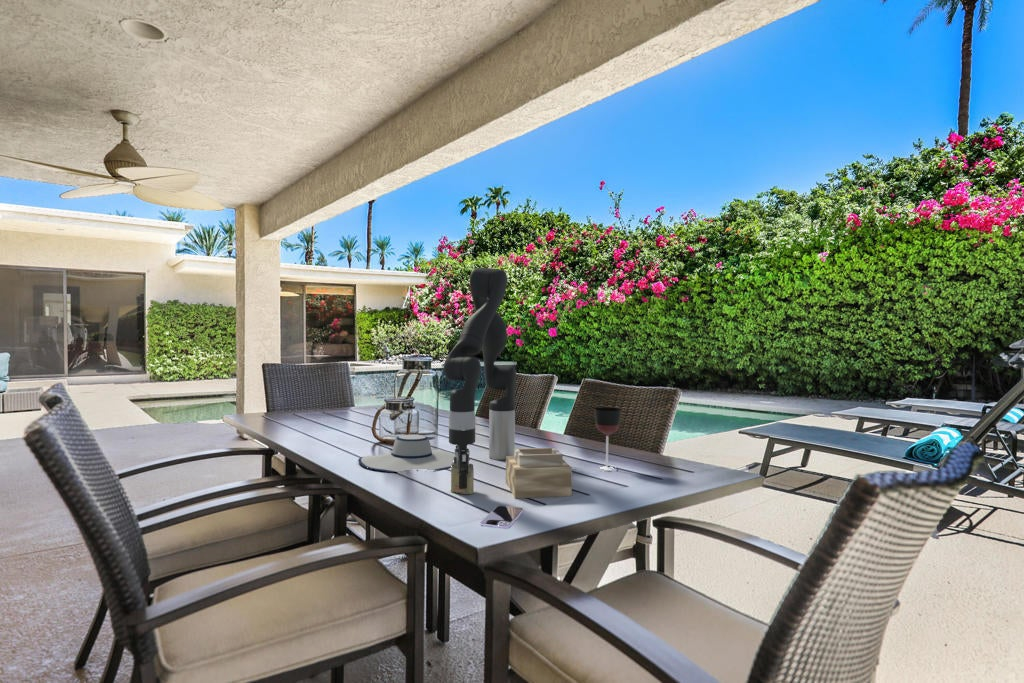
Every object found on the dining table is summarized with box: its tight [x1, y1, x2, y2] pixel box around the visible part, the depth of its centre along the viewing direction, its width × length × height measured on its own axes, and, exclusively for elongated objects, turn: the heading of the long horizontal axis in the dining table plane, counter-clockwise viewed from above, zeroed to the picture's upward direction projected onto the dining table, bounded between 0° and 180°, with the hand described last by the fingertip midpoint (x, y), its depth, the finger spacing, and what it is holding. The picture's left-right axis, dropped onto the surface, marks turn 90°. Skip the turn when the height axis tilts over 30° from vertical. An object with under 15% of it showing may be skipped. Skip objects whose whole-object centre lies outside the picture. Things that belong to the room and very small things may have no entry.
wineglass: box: [593, 406, 622, 470], centre depth 194 cm, size 8×9×20 cm
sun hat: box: [357, 434, 455, 473], centre depth 205 cm, size 36×36×9 cm
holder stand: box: [505, 447, 573, 499], centre depth 170 cm, size 16×16×11 cm
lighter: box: [450, 457, 475, 495], centre depth 166 cm, size 7×4×10 cm, turn 62°
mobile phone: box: [479, 505, 525, 529], centre depth 145 cm, size 8×1×15 cm
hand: (461, 485), depth 166 cm, fingers closed on lighter, 5 cm apart
